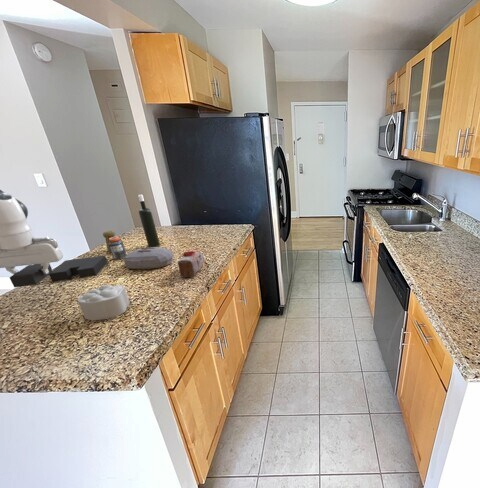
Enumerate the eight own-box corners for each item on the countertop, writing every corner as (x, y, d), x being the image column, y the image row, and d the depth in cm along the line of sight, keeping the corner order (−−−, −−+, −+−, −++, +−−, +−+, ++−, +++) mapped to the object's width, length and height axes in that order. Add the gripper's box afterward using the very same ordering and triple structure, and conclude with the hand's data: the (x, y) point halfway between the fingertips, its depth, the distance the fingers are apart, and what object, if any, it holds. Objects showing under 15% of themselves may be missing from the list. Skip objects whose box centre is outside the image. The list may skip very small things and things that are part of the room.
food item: (189, 264, 129) (185, 246, 125) (206, 263, 130) (202, 245, 126) (179, 278, 116) (174, 258, 113) (197, 276, 118) (193, 257, 114)
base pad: (52, 281, 114) (48, 273, 113) (68, 267, 126) (65, 260, 125) (96, 275, 119) (93, 267, 118) (107, 262, 132) (105, 255, 130)
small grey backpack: (122, 272, 122) (166, 270, 124) (116, 256, 119) (162, 254, 121) (140, 258, 136) (180, 256, 138) (136, 243, 133) (176, 242, 134)
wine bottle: (153, 247, 149) (139, 196, 138) (146, 246, 151) (131, 195, 140) (162, 244, 154) (148, 194, 143) (155, 243, 156) (141, 193, 145)
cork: (119, 246, 151) (114, 228, 147) (121, 249, 147) (115, 231, 143) (106, 249, 147) (100, 231, 143) (108, 252, 143) (101, 234, 139)
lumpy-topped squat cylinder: (122, 315, 92) (114, 295, 89) (77, 323, 88) (67, 302, 85) (132, 299, 101) (125, 280, 98) (92, 306, 97) (84, 286, 94)
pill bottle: (118, 255, 140) (111, 235, 135) (129, 254, 140) (123, 235, 136) (110, 260, 134) (103, 240, 130) (123, 259, 135) (116, 239, 130)
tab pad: (14, 287, 91) (9, 277, 89) (37, 271, 102) (33, 261, 100) (36, 284, 93) (31, 274, 91) (56, 268, 104) (53, 259, 102)
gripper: (58, 234, 96) (72, 267, 101) (-16, 240, 90) (2, 275, 95) (48, 239, 91) (63, 274, 96) (-32, 246, 84) (-12, 283, 89)
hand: (32, 275), depth 95 cm, fingers closed on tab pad, 6 cm apart
